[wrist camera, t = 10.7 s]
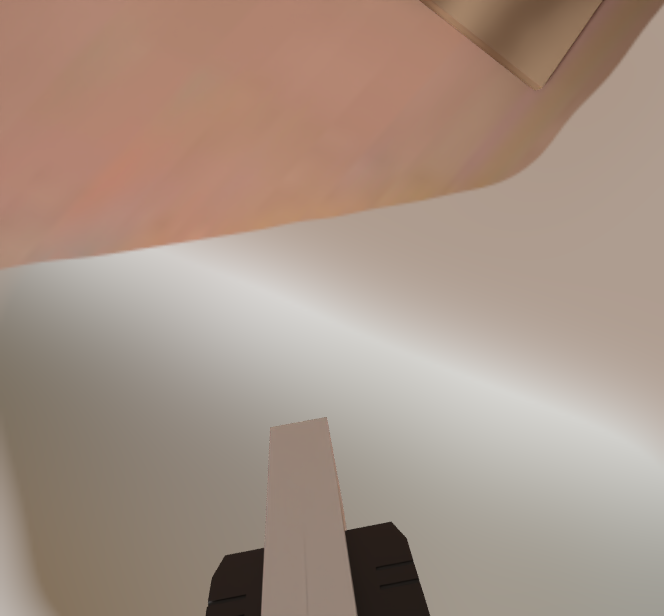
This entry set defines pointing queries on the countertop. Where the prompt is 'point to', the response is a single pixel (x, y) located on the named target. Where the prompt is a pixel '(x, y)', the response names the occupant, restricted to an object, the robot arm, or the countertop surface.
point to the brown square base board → (520, 31)
